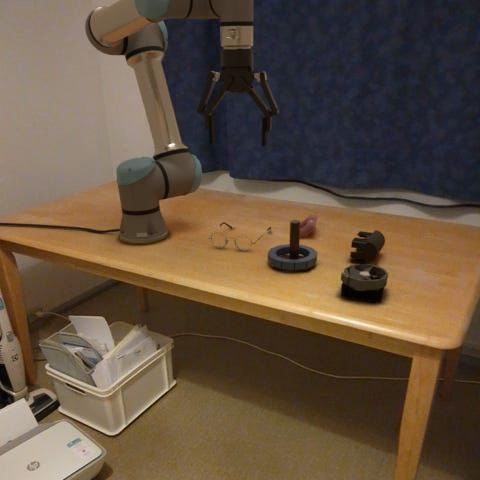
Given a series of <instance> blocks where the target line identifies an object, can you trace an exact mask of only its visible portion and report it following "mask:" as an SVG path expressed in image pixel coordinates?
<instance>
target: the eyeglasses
mask: <svg viewBox="0 0 480 480" xmlns="http://www.w3.org/2000/svg"><path fill="white" fill-rule="evenodd" d="M223 225H226V226H227V227H228V228H229V229H231V230H233V226H231V225H229V224H228V223H226V222H225V221H224V222H221V223H220V224H219V226H218V227H217V228H216V229H215V230H214V231H213V232H212V233H211V234H210V235H209V236H208V240H210V241H211V243H212V245H213V246H214V247H216V248H218V249H223V248H225V247H227V245H228V243H229V239H230V237H229V236H227V237H225V236H224V234H222V233H220V232H219V231H218V229H219V228H221V226H223ZM271 231H272V227H271V226H269V227H268V228H267V229H266V230H265V232H263V233H262V234H261V235H260V236H259V237H258V238H257V239H256V240H255V241H252V239H251V238H250V237H249V236H248V235H246V234H240V235H238V236H237V237H236V238H235V237H231V239H232V240H233V243H234V246H235V248H236V249H238V250H239V251H242V252H245V251H248V250H249V248H246V249H243V248H240V247H239V246H238V242H237V239H238V238H239V237H246V238H248V239H249V241H250V246H252V245H255V244H256V243H257V242H258V241H260V240H261V238H262V237H263V236H264V235H265V234H266V233H267V232H268V233H271ZM214 234H219V235H221V236H222V237H223V239H224V245H223V246H218V245H216V244H215V243H214V242H213V239H212V237H213V235H214Z"/></svg>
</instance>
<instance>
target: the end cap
mask: <svg viewBox="0 0 480 480" xmlns="http://www.w3.org/2000/svg"><path fill="white" fill-rule="evenodd" d="M356 236H357V237H354V238H353V239H352V240H351V244H350V248H353V249H355V251H350V254H349V256H350V260H349V261H350V263H352V264H369V265H370V263H372V262H373V261H375V260H376V259H377V257H378V256H379V254H380V252H381V251H382V249H383V248H384V246H385V245H386V238H385V236H384V234H383V232H381V231H380V230H378V229H374V231H373V232H369V231H361V230H359V231H358V233H357V235H356Z"/></svg>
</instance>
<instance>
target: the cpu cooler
mask: <svg viewBox="0 0 480 480" xmlns="http://www.w3.org/2000/svg"><path fill="white" fill-rule="evenodd" d="M340 274H341V275H340V281H341V282H342V283H341V289H340V297H342V298H344V299H347V300H350V301H351V300H352V301H358V302H366V303H377V302H378V303H381V302H382V299H383V294H384V291H385V288H386V287H387V284H388V279H389V278H388V277H389V273H388V271H387V269H385V268H383V267H380V266H379V265H376V264H370V263H369V264H357V263H355V264H350V265H349V266H346V267H344V269H343V272H341V273H340Z"/></svg>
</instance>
